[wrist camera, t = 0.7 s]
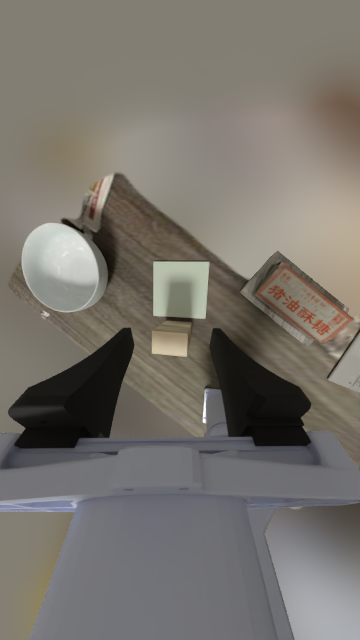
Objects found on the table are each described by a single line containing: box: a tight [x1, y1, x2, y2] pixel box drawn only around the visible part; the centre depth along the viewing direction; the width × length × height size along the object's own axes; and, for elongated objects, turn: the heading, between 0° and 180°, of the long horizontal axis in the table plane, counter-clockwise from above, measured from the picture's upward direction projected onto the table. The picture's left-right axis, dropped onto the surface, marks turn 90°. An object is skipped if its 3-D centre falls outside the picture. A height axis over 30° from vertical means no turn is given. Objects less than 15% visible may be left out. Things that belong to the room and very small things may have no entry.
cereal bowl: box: [22, 223, 108, 312], centre depth 31 cm, size 17×17×7 cm
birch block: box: [152, 320, 192, 357], centre depth 29 cm, size 4×6×10 cm, turn 88°
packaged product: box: [240, 251, 354, 347], centre depth 27 cm, size 18×5×10 cm
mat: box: [153, 262, 209, 319], centre depth 32 cm, size 12×12×1 cm
